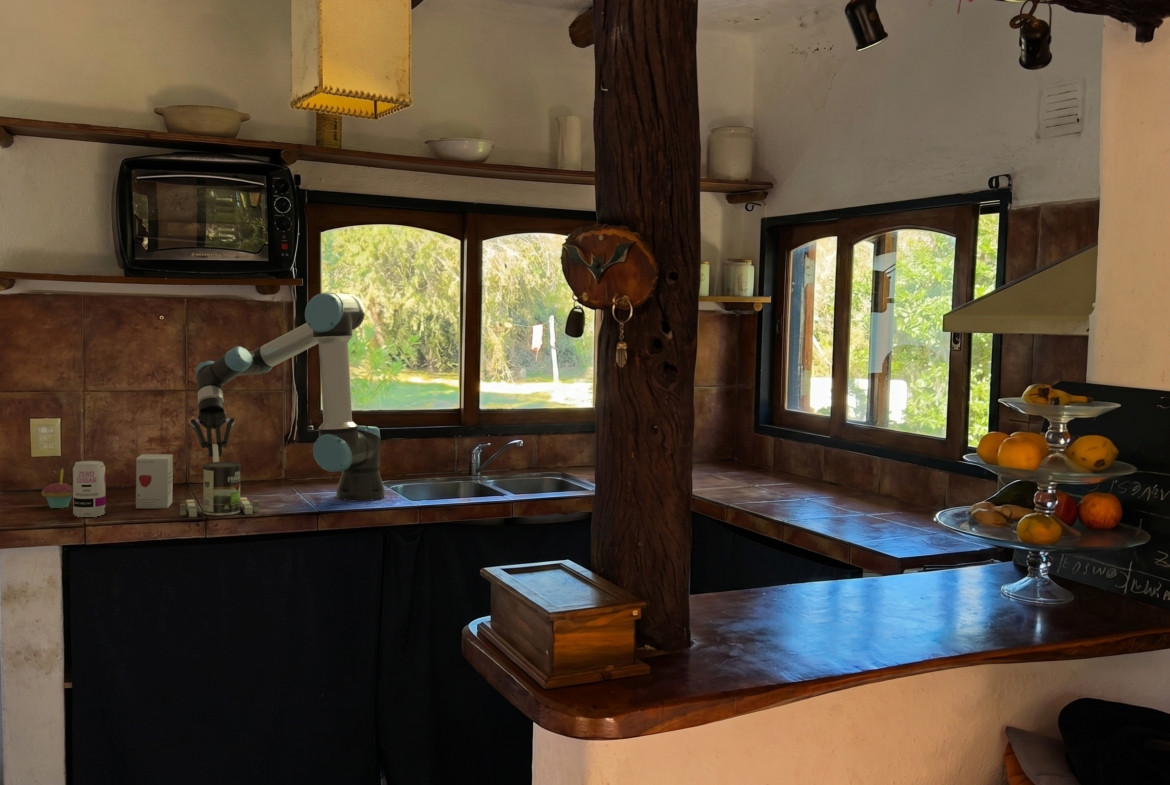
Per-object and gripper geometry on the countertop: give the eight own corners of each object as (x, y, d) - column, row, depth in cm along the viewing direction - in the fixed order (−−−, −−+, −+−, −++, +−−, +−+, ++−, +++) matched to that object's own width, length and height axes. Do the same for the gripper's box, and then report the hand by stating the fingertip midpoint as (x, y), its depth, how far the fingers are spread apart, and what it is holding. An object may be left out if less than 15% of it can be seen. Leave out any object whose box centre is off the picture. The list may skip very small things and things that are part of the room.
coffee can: (247, 510, 301) (247, 462, 300) (228, 517, 291) (228, 467, 290) (215, 507, 303) (215, 460, 302) (195, 514, 293) (195, 465, 292)
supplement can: (99, 511, 293) (99, 459, 292) (109, 516, 287) (109, 463, 286) (69, 514, 287) (68, 461, 286) (78, 519, 281) (78, 465, 280)
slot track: (178, 506, 303) (178, 496, 303) (254, 503, 312) (254, 493, 311) (180, 517, 288) (180, 507, 288) (260, 513, 297) (260, 503, 297)
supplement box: (134, 509, 298) (134, 458, 297) (141, 503, 307) (140, 453, 306) (168, 508, 300) (168, 458, 299) (173, 502, 309) (173, 453, 308)
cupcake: (81, 506, 299) (81, 465, 298) (55, 511, 292) (55, 469, 291) (60, 503, 303) (60, 463, 302) (34, 508, 295) (34, 466, 294)
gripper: (232, 411, 324) (238, 470, 310) (188, 412, 319) (192, 473, 305) (233, 395, 319) (240, 455, 305) (188, 396, 314) (193, 457, 300)
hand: (216, 464), depth 305 cm, fingers closed
